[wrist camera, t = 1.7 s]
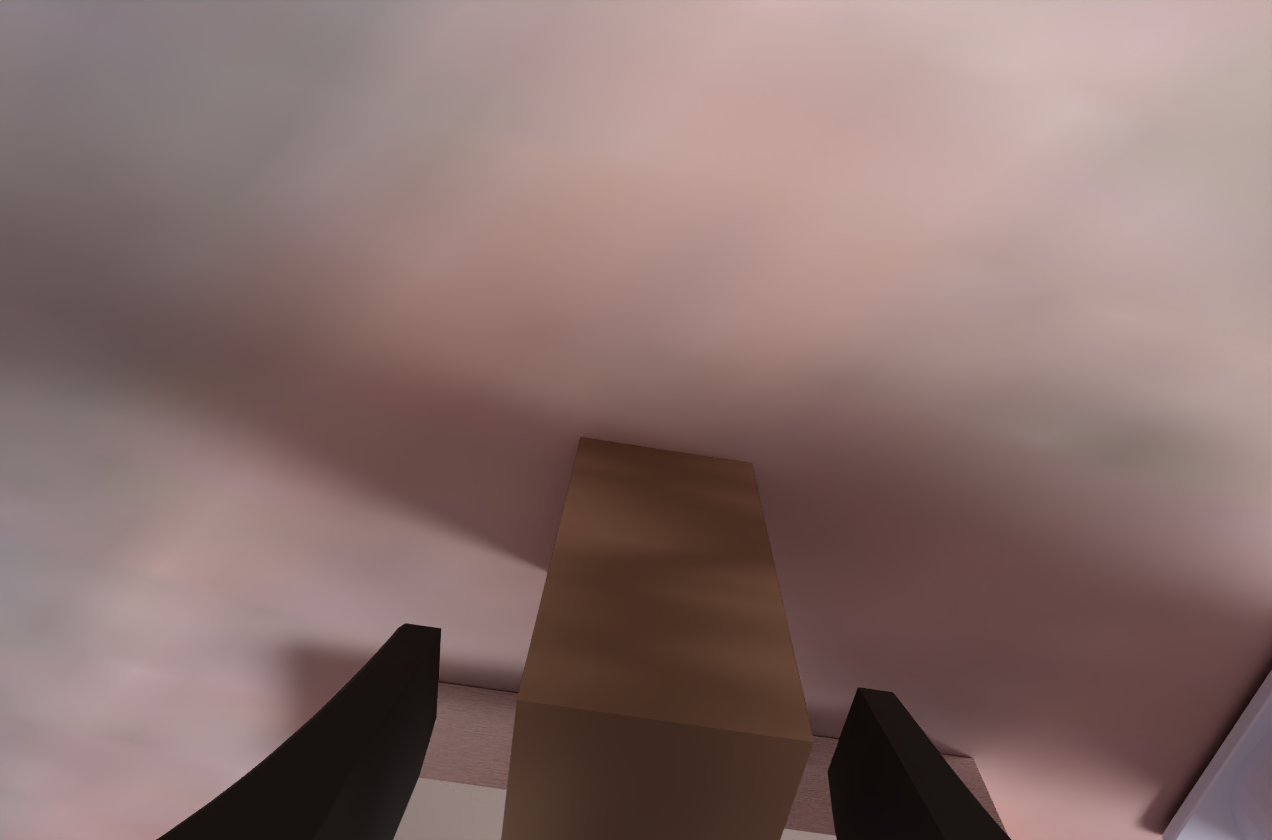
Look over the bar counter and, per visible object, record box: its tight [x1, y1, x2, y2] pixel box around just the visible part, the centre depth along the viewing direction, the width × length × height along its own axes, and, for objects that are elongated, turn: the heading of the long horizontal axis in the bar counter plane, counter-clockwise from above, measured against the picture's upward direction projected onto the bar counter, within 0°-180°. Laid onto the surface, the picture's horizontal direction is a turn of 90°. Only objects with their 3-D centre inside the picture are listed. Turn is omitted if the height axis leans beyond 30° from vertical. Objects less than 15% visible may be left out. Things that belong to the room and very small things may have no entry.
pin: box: [501, 437, 814, 840], centre depth 14 cm, size 4×4×8 cm
